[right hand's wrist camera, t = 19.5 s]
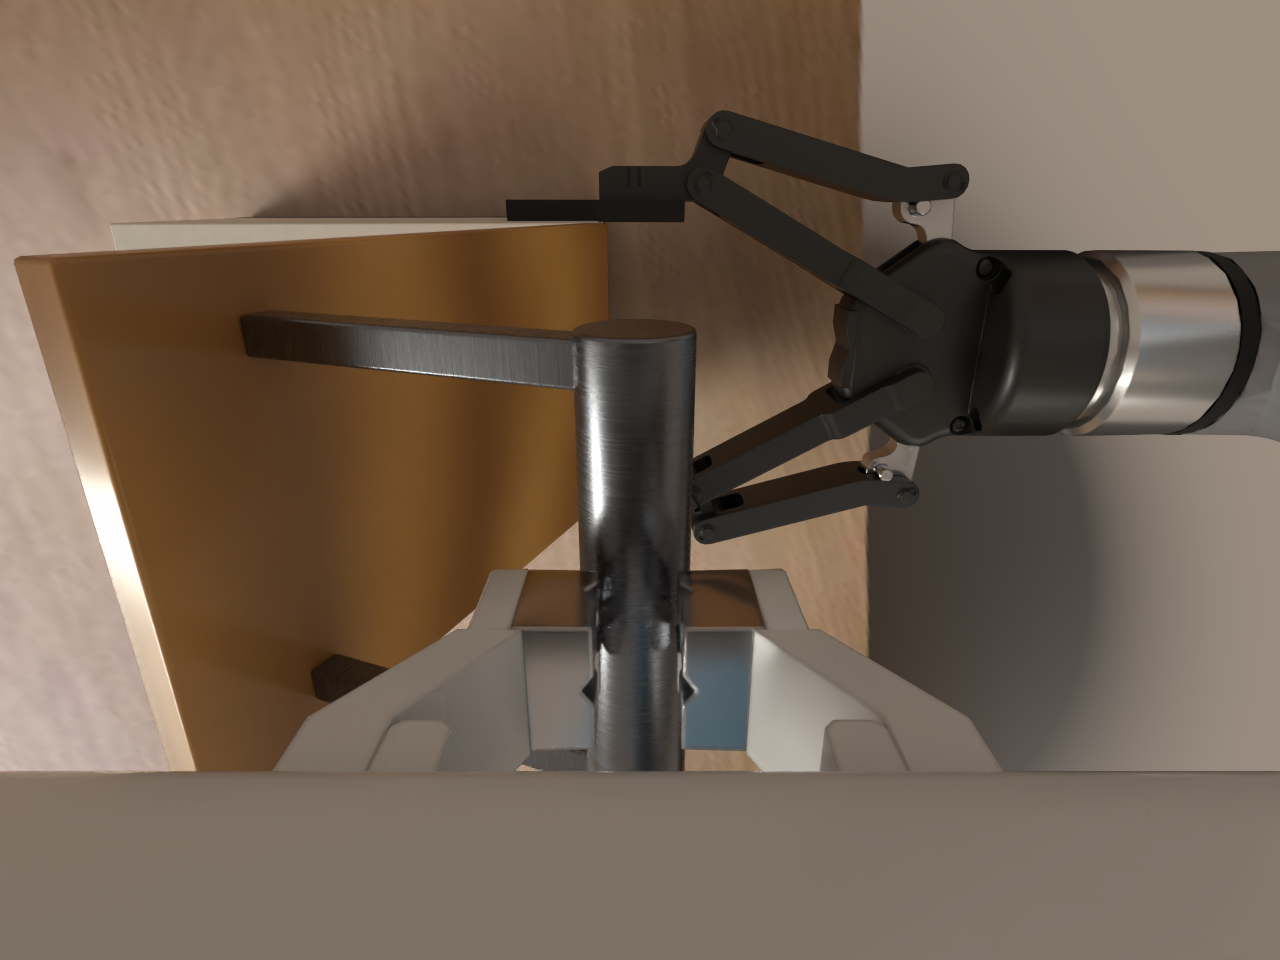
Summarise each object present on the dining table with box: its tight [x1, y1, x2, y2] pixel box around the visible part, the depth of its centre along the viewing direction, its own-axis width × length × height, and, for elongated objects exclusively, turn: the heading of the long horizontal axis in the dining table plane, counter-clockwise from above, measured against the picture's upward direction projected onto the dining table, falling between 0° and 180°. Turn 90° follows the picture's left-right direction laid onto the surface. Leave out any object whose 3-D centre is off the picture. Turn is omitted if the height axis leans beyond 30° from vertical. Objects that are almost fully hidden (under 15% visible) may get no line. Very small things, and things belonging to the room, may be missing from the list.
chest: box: [110, 217, 604, 251], centre depth 30 cm, size 16×10×10 cm, turn 90°
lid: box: [14, 223, 696, 771], centre depth 17 cm, size 17×10×8 cm
